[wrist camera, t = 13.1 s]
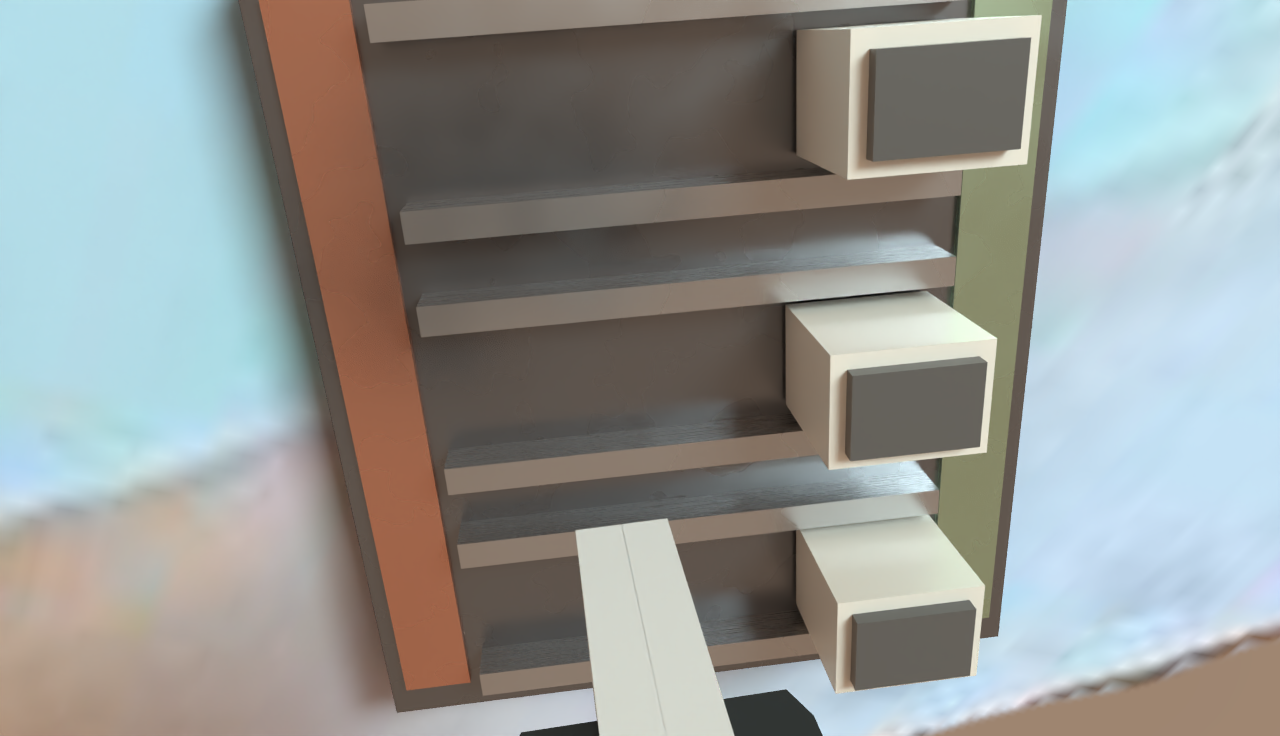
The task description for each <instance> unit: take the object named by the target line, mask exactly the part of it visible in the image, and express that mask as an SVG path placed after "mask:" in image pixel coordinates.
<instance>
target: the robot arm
mask: <svg viewBox="0 0 1280 736" xmlns="http://www.w3.org/2000/svg"><path fill="white" fill-rule="evenodd" d="M575 531H576V540H577V549H578V558H579V567H580V576H581V585H582V594H583V603H584V612H585V621H586V630H587V639H588V648H589V657H590V666H591V674H592V683H593V691H594V700H595V709H596V717H597V721H593V722H587V723H580V724H574V725H567V726H561V727H554V728H548V729H541V730H535V731H528V732H522V733H521V734H520V736H822V733H821V731H820V729H819V727H818V724H817V722H816V720H815V717H814V716H813V715H812V714H811V713H810V712H809V711H808V710H807V709H806V708H805V707H804V706H803V705H802V704H801V703H800V702H799V701H798V700H797V699H796V698H795V697H794V696H793V695H792V694H790V693H789V692H788V691H787V690H780V691H773V692H767V693H760V694H754V695H747V696H740V697H734V698H727V699H723V697H722V694H721V691H720V687H719V684H718V681H717V678H716V674H715V671H714V668H713V665H712V662H711V658H710V655H709V652H708V649H707V645H706V642H705V639H704V636H703V632H702V629H701V626H700V623H699V619H698V616H697V613H696V610H695V607H694V603H693V600H692V597H691V594H690V590H689V587H688V584H687V581H686V577H685V574H684V571H683V568H682V564H681V561H680V558H679V555H678V551H677V548H676V545H675V542H674V539H673V535H672V532H671V529H670V526H669V522H668V519H667V518H666V519H658V520H650V521H643V522H635V523H627V524H620V525H612V526H604V527H597V528H589V529H582V530H575Z"/></svg>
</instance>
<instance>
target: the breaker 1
mask: <svg viewBox="0 0 1280 736" xmlns="http://www.w3.org/2000/svg"><path fill="white" fill-rule="evenodd" d="M1041 19H1042V15H1029V16H1003V17H978V18H953V19H940V20H926V21H912V22H899V23H885V24H872V25H858V26H845V27H831V28H818V29H804V30H797V58H796V155H797V156H799V157H801V158H803V159H805V160H807V161H810V162H812V163H814V164H816V165H818V166H820V167H822V168H824V169H826V170H828V171H830V172H832V173H834V174H836V175H839V176H841V177H843V178H845V179H847V180H850V179H862V178H873V177H885V176H897V175H908V174H920V173H931V172H943V171H954V170H966V169H977V168H989V167H1000V166H1012V165H1023V164H1027V160H1028V149H1029V139H1030V129H1031V119H1032V109H1033V99H1034V89H1035V79H1036V69H1037V59H1038V49H1039V39H1040V29H1041Z"/></svg>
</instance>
